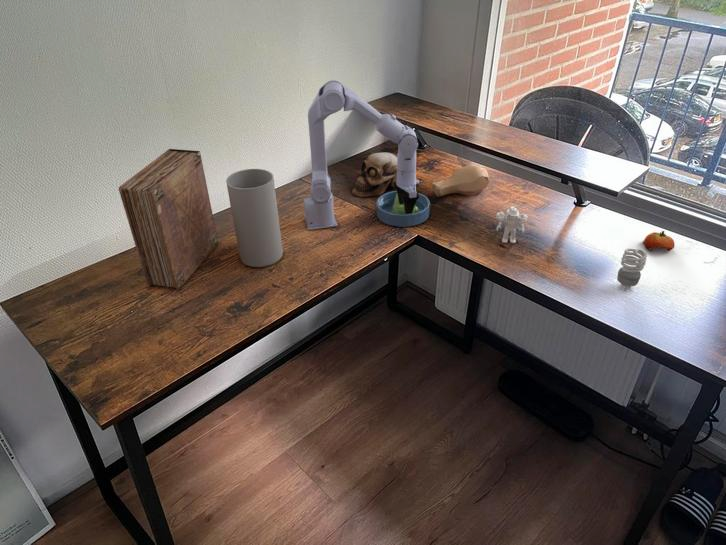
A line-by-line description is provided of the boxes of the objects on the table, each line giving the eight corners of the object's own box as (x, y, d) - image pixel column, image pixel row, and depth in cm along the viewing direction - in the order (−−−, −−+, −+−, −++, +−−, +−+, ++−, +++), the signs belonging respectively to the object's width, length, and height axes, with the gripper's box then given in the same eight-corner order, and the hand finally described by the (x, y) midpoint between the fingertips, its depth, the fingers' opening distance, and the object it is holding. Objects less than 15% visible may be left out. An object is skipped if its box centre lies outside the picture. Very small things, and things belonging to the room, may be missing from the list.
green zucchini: (390, 221, 177) (389, 210, 175) (387, 218, 180) (386, 207, 179) (420, 217, 178) (420, 206, 177) (417, 214, 182) (416, 203, 180)
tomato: (683, 246, 159) (674, 232, 156) (667, 264, 160) (657, 251, 156) (661, 237, 166) (651, 223, 162) (645, 254, 167) (635, 241, 163)
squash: (494, 194, 193) (496, 173, 186) (440, 209, 190) (440, 188, 184) (481, 176, 200) (482, 156, 194) (428, 191, 198) (428, 170, 191)
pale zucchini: (403, 215, 181) (401, 208, 178) (392, 214, 182) (391, 207, 179) (409, 193, 187) (408, 185, 184) (398, 192, 188) (397, 185, 185)
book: (177, 291, 150) (151, 191, 133) (147, 287, 152) (117, 188, 135) (218, 242, 170) (200, 150, 153) (191, 239, 172) (169, 147, 155)
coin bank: (348, 194, 194) (350, 157, 187) (367, 179, 208) (369, 144, 201) (391, 203, 189) (394, 165, 183) (406, 187, 203) (410, 151, 197)
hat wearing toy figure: (523, 238, 168) (529, 203, 161) (524, 245, 165) (530, 209, 158) (493, 236, 170) (497, 201, 163) (493, 243, 166) (497, 207, 160)
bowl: (384, 231, 174) (384, 218, 171) (371, 206, 187) (370, 194, 185) (436, 223, 177) (437, 211, 174) (419, 199, 190) (420, 187, 188)
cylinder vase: (236, 250, 167) (222, 173, 152) (277, 241, 170) (267, 165, 156) (244, 272, 157) (230, 192, 143) (287, 262, 160) (278, 184, 146)
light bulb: (631, 281, 149) (642, 243, 142) (640, 294, 144) (653, 255, 137) (610, 282, 149) (620, 244, 142) (618, 295, 144) (630, 256, 137)
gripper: (426, 177, 164) (424, 217, 172) (412, 158, 176) (411, 196, 184) (403, 179, 163) (403, 220, 171) (390, 160, 175) (390, 199, 183)
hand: (405, 208), depth 177 cm, fingers open, 6 cm apart
